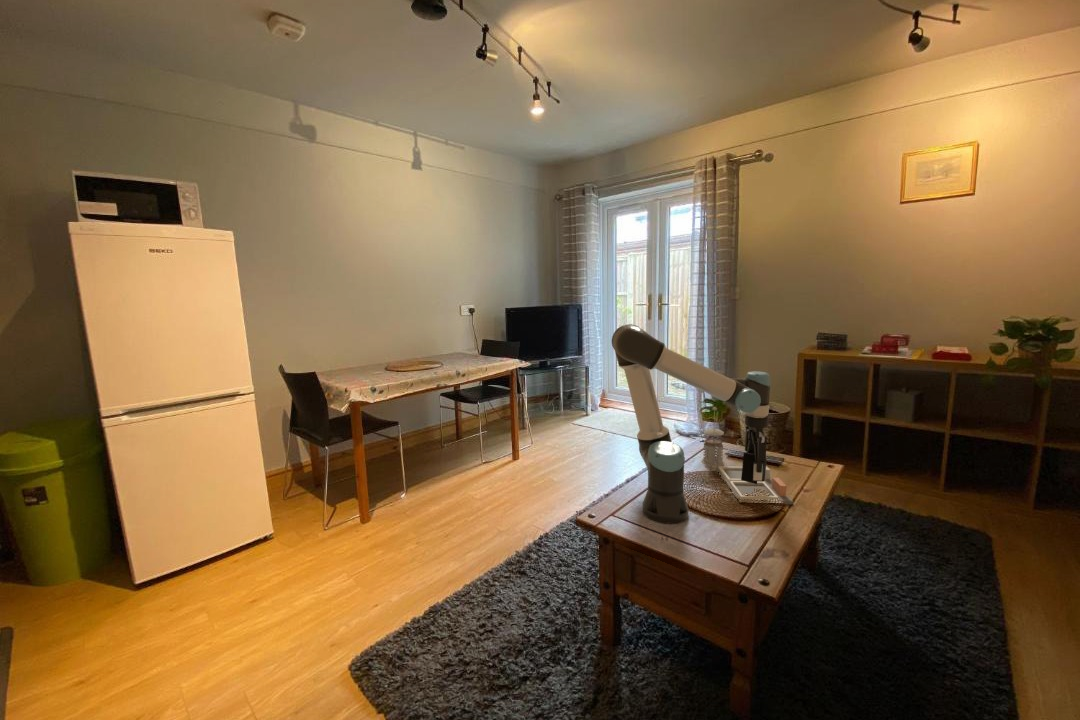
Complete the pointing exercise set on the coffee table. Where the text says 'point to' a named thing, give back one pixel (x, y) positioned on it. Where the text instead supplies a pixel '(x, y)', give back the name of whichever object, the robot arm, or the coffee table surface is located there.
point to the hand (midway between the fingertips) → (753, 475)
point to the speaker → (750, 468)
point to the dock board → (754, 485)
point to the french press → (713, 447)
